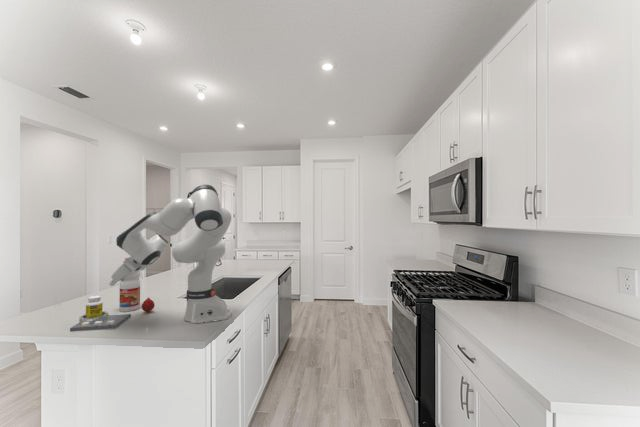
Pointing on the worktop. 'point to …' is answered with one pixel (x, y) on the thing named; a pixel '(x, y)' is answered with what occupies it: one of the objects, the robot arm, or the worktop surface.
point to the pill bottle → (94, 307)
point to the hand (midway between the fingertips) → (116, 282)
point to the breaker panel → (102, 323)
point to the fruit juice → (130, 293)
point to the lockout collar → (93, 320)
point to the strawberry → (148, 305)
